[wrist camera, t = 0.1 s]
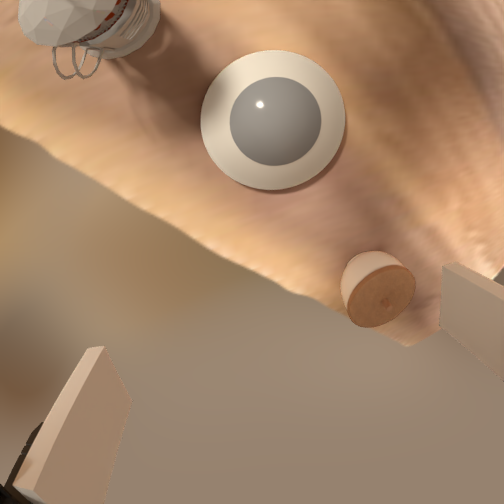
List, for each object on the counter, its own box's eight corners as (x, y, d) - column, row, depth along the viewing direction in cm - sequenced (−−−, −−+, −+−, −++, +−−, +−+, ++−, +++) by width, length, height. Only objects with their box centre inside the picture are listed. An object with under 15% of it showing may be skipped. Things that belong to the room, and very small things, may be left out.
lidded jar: (398, 236, 45) (431, 272, 37) (381, 290, 51) (407, 329, 43) (336, 240, 43) (365, 281, 35) (324, 298, 49) (346, 341, 41)
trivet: (258, 23, 26) (261, 21, 25) (364, 109, 33) (371, 112, 32) (172, 139, 32) (171, 143, 31) (284, 208, 39) (288, 214, 38)
